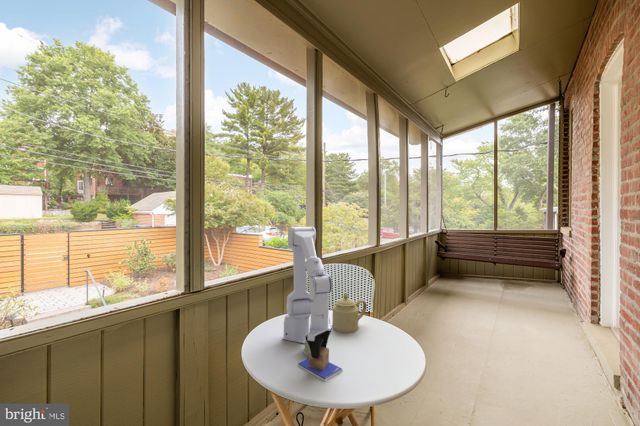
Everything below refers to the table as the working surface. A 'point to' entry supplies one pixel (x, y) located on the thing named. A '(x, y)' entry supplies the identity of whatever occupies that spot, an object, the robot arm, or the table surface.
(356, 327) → the beige teapot
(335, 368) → the hard drive
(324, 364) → the walnut cube
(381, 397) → the table surface
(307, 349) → the sage cube
